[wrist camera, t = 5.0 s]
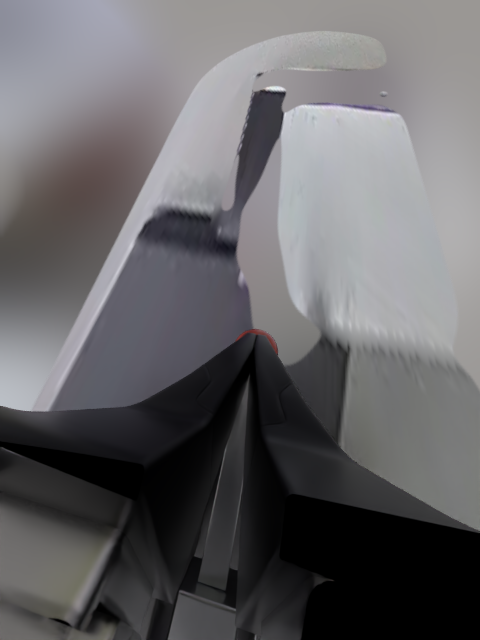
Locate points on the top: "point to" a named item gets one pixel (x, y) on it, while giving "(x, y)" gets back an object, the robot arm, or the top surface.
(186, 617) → the lever
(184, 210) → the top surface
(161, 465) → the robot arm
